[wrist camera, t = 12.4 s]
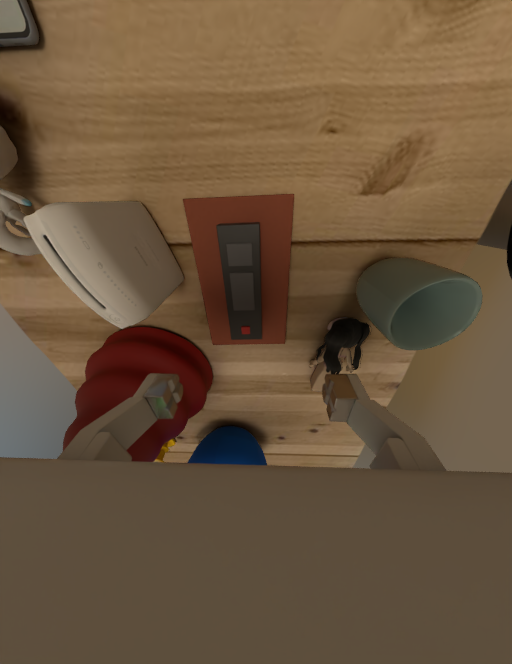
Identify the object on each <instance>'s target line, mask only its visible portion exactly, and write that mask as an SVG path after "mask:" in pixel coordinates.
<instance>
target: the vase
mask: <svg viewBox="0 0 512 664" xmlns="http://www.w3.org/2000/svg"><path fill="white" fill-rule="evenodd" d="M188 463H203V464H235V465H267V463H266V459H265V456H264V453H263V451H262V449H261V447H260V445H259V444H258V442H257V440H256V439H255V437H254V436H253V435H251V434H250V433H249V432H248V431H247V430H245V429H243V428H240V427H235V426H225V427H221V428H218V429H216V430H215V431H213V432H211V433H210V434H208V435H207V436H206V437H205V438H204V439H203V440H202V441H201V442H200V444H199V445H198V446H197V448H196V450H195V451H194V453H193V454H192V456H191V458H190V459H189V461H188Z"/></svg>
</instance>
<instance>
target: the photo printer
mask: <svg viewBox="0 0 512 664" xmlns="http://www.w3.org/2000/svg"><path fill="white" fill-rule="evenodd" d="M24 222H25V224H26V227H27V229H28V231H29V233H30V235H31V237H32V239H33V240H34V242H35V244H36V245H37V247H38V248H39V250H40V252H41V253H42V255H43V256H44V257H45V259H46V260H47V262H48V263H49V264H50V266H51V267H52V268H53V269H54V271H55V272H56V273H57V274H58V276H59V277H60V278H61V279H62V280H63V281H64V283H65V284H66V285H67V286H68V287H69V288H70V289H71V290H72V291H73V292H74V293H75V294H76V295H77V296H78V297H79V298H80V299H81V300H82V301H83V302H84V303H85V304H86V305H87V306H89V307H90V308H91V309H92V310H93V311H95V312H96V313H97V314H98V315H100V316H101V317H103V318H104V319H105V320H107V321H108V322H110V323H112V324H113V325H115V326H117V327H119V328H121V329H123V328H125V327H127V326H132V325H134V324H136V323H139V322H141V321H143V320H145V319H146V318H147V317H148V316H149V315H150V314H151V313H153V312H154V311H155V310H156V309H157V308H158V307H159V306H160V305H161V304H162V302H163V301H164V300H165V299H166V298H167V297H168V296H169V295H170V294H171V293H172V292H173V291H174V290H175V289H176V288H177V287H178V286H179V285H180V284H181V282H182V281H183V280H184V277H183V274H182V272H181V269H180V267H179V265H178V263H177V262H176V260H175V258H174V256H173V254H172V252H171V250H170V249H169V247H168V245H167V243H166V242H165V240H164V238H163V236H162V234H161V233H160V231H159V229H158V228H157V226H156V224H155V223H154V221H153V219H152V218H151V216H150V214H149V213H148V211H147V210H146V209H145V207H144V206H143V205H142V203H140V202H132V201H114V202H57V203H51V204H48V205H45V206H43V207H42V208H41V209H39V210H36V212H35V213H33V214H31V215H28V216H25V217H24Z"/></svg>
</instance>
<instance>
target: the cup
mask: <svg viewBox="0 0 512 664" xmlns="http://www.w3.org/2000/svg"><path fill="white" fill-rule="evenodd" d="M356 296H357V300H358V303H359V305H360V307H361V309H362V310H363V312H364V313H365V315H366V316H367V317H368V319H369V320H370V321H371V322H372V323H373V324H374V326H375V327H376V328H377V329H378V330H379V331H380V332H381V333H382V334H383V335H384V336H385V337H386V338H387V339H388V340H389V341H390V342H391V343H392V344H393V345H395V346H396V347H398V348H400V349H405V350H422V349H427V348H431V347H434V346H437V345H440V344H442V343H445V342H447V341H449V340H451V339H453V338H454V337H456V336H458V335H459V334H460V333H462V332H463V331H465V329H466V328H467V327H468V326H469V325H470V324H471V323H472V322H473V321H474V319H475V318H476V316H477V314H478V312H479V310H480V307H481V304H482V292H481V288H480V286H479V285H478V283H477V282H476V281H474V280H473V279H472V278H470V277H468V276H466V275H464V274H462V273H459V272H456V271H453V270H451V269H448V268H445V267H442V266H439V265H436V264H433V263H429V262H426V261H422V260H418V259H414V258H408V257H394V258H388V259H384V260H381V261H379V262H377V263H375V264H373V265H371V266H370V267H368V268H367V269H366V270H365V271H364V272H363V273H362V275H361V276H360V278H359V280H358V282H357V286H356Z"/></svg>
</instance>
